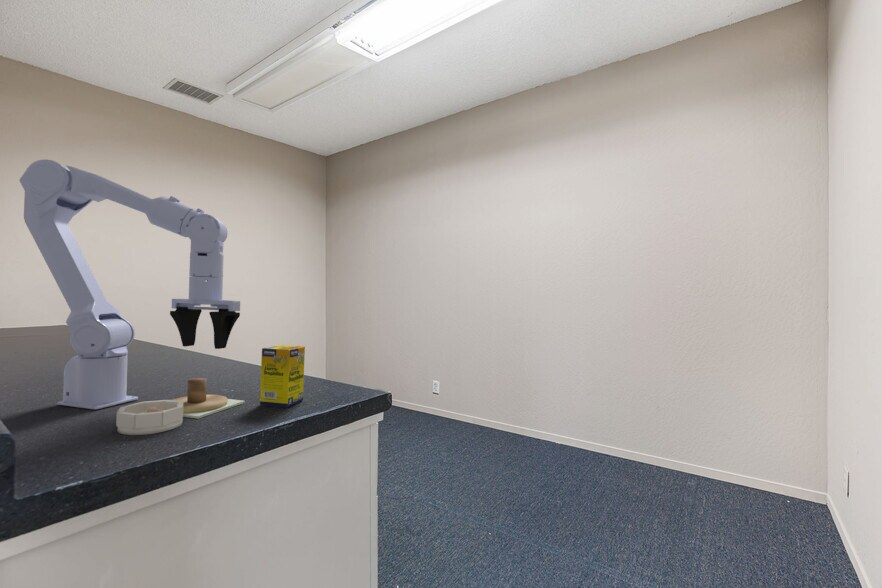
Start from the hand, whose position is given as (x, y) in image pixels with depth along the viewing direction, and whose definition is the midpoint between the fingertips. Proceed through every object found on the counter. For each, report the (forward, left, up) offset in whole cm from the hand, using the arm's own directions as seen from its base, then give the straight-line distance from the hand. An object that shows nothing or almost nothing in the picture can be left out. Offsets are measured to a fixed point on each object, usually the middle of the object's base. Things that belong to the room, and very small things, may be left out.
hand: (204, 347), depth 82 cm
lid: (+3, -4, -10) cm, 11 cm away
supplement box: (+15, +4, -11) cm, 19 cm away
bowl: (+5, -15, -10) cm, 19 cm away
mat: (+3, -4, -10) cm, 12 cm away
